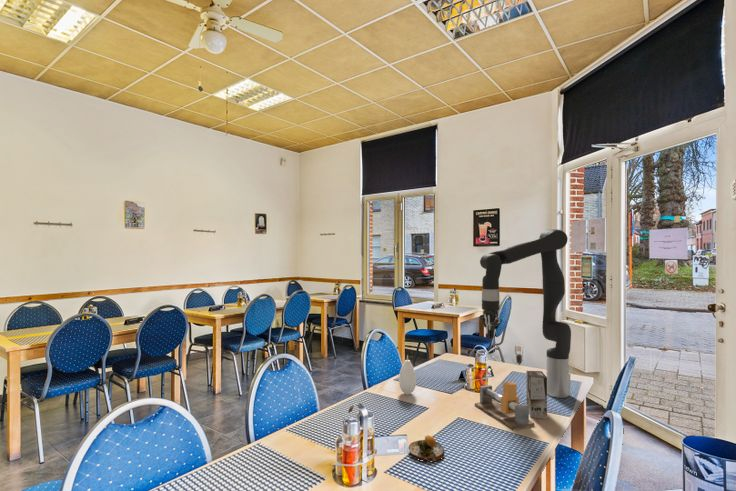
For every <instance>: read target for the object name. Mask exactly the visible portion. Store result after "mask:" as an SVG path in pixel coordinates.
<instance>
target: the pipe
mask: <svg viewBox="0 0 736 491" xmlns="http://www.w3.org/2000/svg"><path fill="white" fill-rule="evenodd" d="M501 396H503V394H500V393H499V392H496V391H494V390H493V385H490V384H487V385H481V386H479V403H481V404H486V403H492V401H493V400H495V401H497V402H498V403H500V404H501ZM508 408H509V409H512V410H513V411H515V424H516V425H517V426H520V425H525V424H529V420H530V415H529V405H527V403H521V404H520V403H519V404H517V403H515V402H514V401H508Z"/></svg>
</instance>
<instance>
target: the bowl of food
mask: <svg viewBox="0 0 736 491" xmlns="http://www.w3.org/2000/svg"><path fill="white" fill-rule="evenodd" d="M434 435H435V434H433V436H432V435H425V436H424V439H421V440H415V441H413V442H411V443H410V444H409V445H408V450H409V452H410V454H411V455H412V456H415V457H416V460H417V459H419V460H424V461H425V460H426V461H427V462H428V461H435V462H436V461H438V460H440V459H441V458H444V457H445V448H444V446H443V445H442V444H440V443H439V442H437V441H436V439H435V438H434ZM443 456H444V457H443ZM419 460H418V461H419ZM441 460H442V459H441Z"/></svg>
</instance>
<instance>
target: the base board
mask: <svg viewBox="0 0 736 491" xmlns="http://www.w3.org/2000/svg"><path fill="white" fill-rule="evenodd" d="M474 407H476V408H478V409H479V410H481V411H483V412H484V413H485V414H487V415H489V416H490V417H492V418H494V419H495V420H497V421H498V422H500V423H501V424H502V425H505V426H506V427H508V428H509V429H511V430H512V431H513V430H518V429H524V428H529V427H534V426H535V422H534V421H532V420H530V419H529V424H525V425H520V426H517V425H516V424H515V413H510V414H505V413H503V412H501V403H499V402H498V401H496V400H494V399H492V403H486V404H481V403H480V402H475V403H474Z"/></svg>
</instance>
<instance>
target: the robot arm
mask: <svg viewBox="0 0 736 491" xmlns="http://www.w3.org/2000/svg"><path fill="white" fill-rule="evenodd" d="M568 240H569V239H568V235H567V234H566V232H565V231H563V230H561V229H557V228H556V229H545V230H543V231H542V232H540V235H539V237H538V238H537V239H534V240H531V241H526V242H522V243H517V244H514V245H511V246H507V247H506V248H505V247H504V248H503V249H500V250H496V251H492V252H489V253H485V254H484V255H482V256H481V257H480V260H479V264H480V266H481V268H482V269H484V270H485V275H483V277H482V284H481V285H482V287H481V288H482V289H481V290H482V291H481V309H482V310H483V312H482V314H481V315H479V318H480V320H481V323H482V325H483V327H484V328H486V331H487V332H486V334H487V335H486V336H487V338H488V339H490V340H491V339H494V337H495V330H498V329H499V327H500V325H501V324H502V322H503V320H502V319H501V318H499V312H498V311H499V310H500V276H501V271H502V266H503V265H510V264H512V263H515V262H518V261H520V260H524V259H526V258H530V257H532V256H534V255H538V254H540V257H541V272H542V274H541V275H542V280H541V282H542V293H543V294H542V295H543V296H542V299H543V300H542V301H543V307H542V308H543V313H542V325H541V326H542V327H541V328H542V329H541V330H542V335H543V337H544V339H546V340H548V341H552V342H555V347H551V348H547V349H546V377H547V396H551V397H553V398H556V399H557V398H558V399H560V398H561V399H565V398H569V397H570V396H571V374H570V372H569V371H570V364H569V362H570V358H569V356H570V352H571V343H572V342H571V341H572V330H571V326H570V325H569V324H568V323H566V322H563V321H557V319H556V316H557V315H556V313H557V309H558V307H559V304H561V301H562V300H563V298H564V296H565V293H566V286H565V276H564V273H563V271H562V269H561V266H560V264H559V260H558V257H557V251H558V250H561V249H563V248H564V247H565V246H566V245H567V243H568Z"/></svg>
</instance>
